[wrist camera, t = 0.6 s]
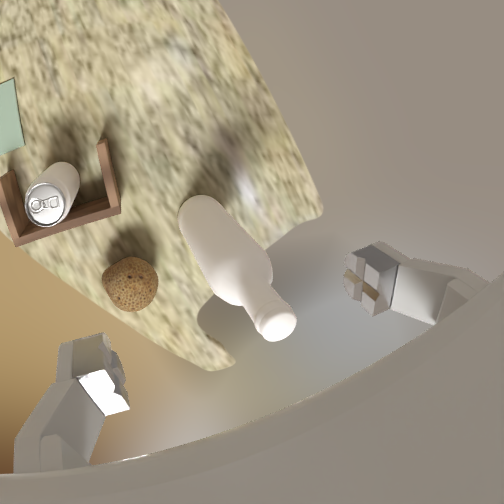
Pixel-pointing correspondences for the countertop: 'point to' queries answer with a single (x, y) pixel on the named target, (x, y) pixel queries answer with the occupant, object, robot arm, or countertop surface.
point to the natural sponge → (130, 283)
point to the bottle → (235, 265)
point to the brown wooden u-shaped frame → (24, 231)
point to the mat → (9, 119)
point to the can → (52, 194)
